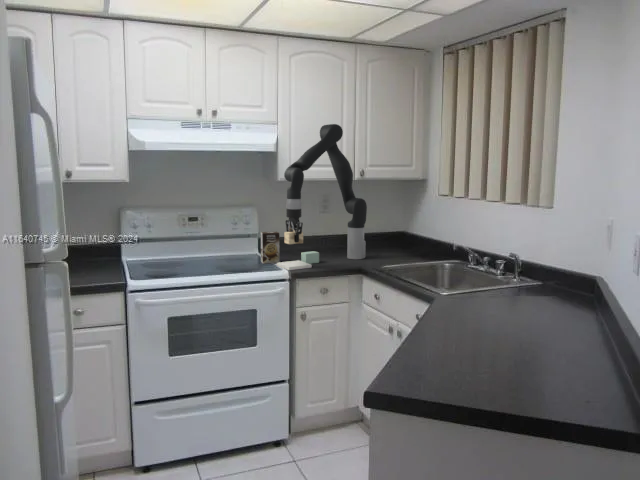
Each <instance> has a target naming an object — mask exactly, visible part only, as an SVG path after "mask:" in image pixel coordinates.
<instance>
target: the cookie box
mask: <svg viewBox="0 0 640 480" xmlns="http://www.w3.org/2000/svg"><path fill="white" fill-rule="evenodd" d="M260 262H261V264H263V265H265V264H266V265H267V264H277V263H279V262H280V232H279V231H260Z"/></svg>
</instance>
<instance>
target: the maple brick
mask: <svg viewBox="0 0 640 480" xmlns="http://www.w3.org/2000/svg"><path fill="white" fill-rule="evenodd" d="M299 232H300V230H299ZM294 235H295V234H294V231H293V232H287V231H284V244H287V245H294V244H295V245H296V244H297V245H298V244H304V232H303V231H302V233H301V234H300V235H299V242H294Z"/></svg>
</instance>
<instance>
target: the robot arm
mask: <svg viewBox="0 0 640 480" xmlns="http://www.w3.org/2000/svg"><path fill="white" fill-rule="evenodd" d="M343 131H344V130H343V128H342V126H341V125H339V124H336V123H331V124H324V125H322V126H321V127H320V130H319V136H320V137H319V138H320V140H319V141H318V142H317V143H315V144H313V145H312V146H311V147H309V148H308V149H307V150H306V151H305V152H303V154H301V156H300V157H299V158H298V159H297V160H295V162H293V163H292V164H290V165H289V166H288V167H287V168H286V169H285V171H284V174H283V176H284V179H285V181H287V182H291V183H290V186H289V187H287V189H286V203H285V204H286V212H285V213H286V217H287V218H288V219H286V220H285V231H286V232H293V231H294V234H295V235H294V242H299V235H300V234H301V233H302V232H303V226H304V224H303V222H300V218H301V217H302V188H303V184H304V179H305V175H304V172H305V171H308V170H309V169H310V168H312V166H314V164H315V163H316V162H317V161H318V160H319V158H320V157H321V156H323V154H325V153H327V156H328V158H329V160H330V164H331V167H332V170H333V172H334V175H335V178H336V181H337V183H338V187H339V190H340V193H341V196H342V200H343V206H344V208H345V211H346V212H347V213H348V214H349V215H352V217H351V219H350V220H349V221H348V222H347V240H346V241H347V244H346V245H347V246H346V247H347V249H346V250H347V251H346V252H347V253H346V255H347V256H346V258H347V259H348V260H349V259H350V260H363V259H365V258H366V246H367V244H366V240H365V226H366V225H365V224H366V222H367V213H368V212H367V210H368V205H367V202H366V200H365V199H364V198H361V197H360V198H359V197H356V195H355V193H354V191H353V182H354V181H353V179H354V171H353V169H352V166H351V163H350V162H349V160H348V159H347V157H346V156H345V155H344V154H343V153H342V151H341V149H340V148H339V146H338V144H337V143H338V142H339V141H340V140H341V139H342V137H343V133H344V132H343ZM299 231H300V232H299Z"/></svg>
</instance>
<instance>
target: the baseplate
mask: <svg viewBox="0 0 640 480" xmlns="http://www.w3.org/2000/svg"><path fill="white" fill-rule="evenodd" d="M312 265H313V264H308V263H305V262H302V261H301V260H300V259H297V260H291V261H282V262H281V261H279V263H276V266H277V267H279V268H282V269H284V270H287V271H294V270H301V269H302V270H303V269H311V268H312Z"/></svg>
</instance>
